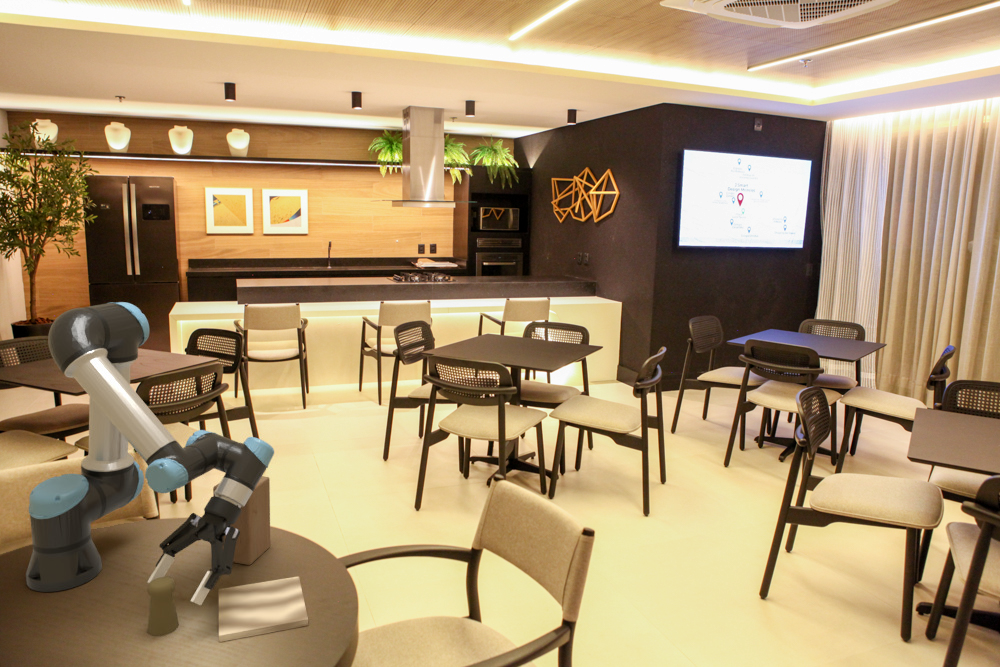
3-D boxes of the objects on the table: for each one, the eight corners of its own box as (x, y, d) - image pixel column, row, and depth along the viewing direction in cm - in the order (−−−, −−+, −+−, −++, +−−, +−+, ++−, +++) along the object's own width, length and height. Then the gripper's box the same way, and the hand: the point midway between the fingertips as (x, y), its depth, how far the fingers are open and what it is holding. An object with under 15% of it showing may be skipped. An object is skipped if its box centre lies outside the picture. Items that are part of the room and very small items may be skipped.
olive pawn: (157, 639, 138) (155, 591, 136) (141, 629, 141) (138, 582, 139) (184, 625, 143) (182, 578, 141) (168, 615, 146) (166, 569, 144)
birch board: (218, 595, 155) (218, 589, 154) (298, 581, 162) (298, 576, 161) (219, 642, 139) (218, 635, 138) (308, 625, 146) (308, 619, 145)
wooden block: (250, 566, 168) (248, 491, 164) (214, 560, 169) (212, 486, 166) (271, 546, 177) (270, 476, 173) (237, 541, 179) (235, 471, 175)
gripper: (277, 521, 150) (225, 616, 140) (200, 496, 161) (147, 582, 150) (258, 508, 144) (203, 606, 134) (180, 483, 155) (123, 571, 145)
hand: (173, 593), depth 142 cm, fingers open, 13 cm apart
